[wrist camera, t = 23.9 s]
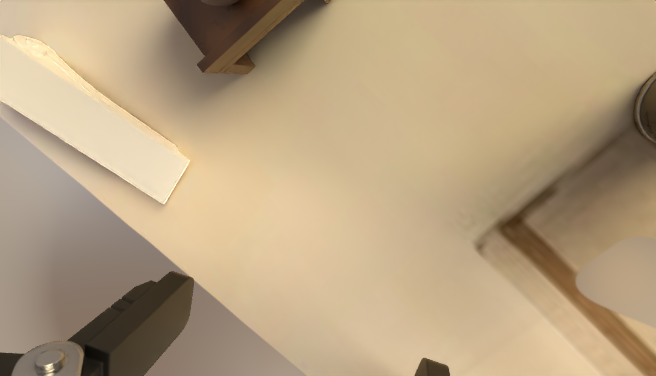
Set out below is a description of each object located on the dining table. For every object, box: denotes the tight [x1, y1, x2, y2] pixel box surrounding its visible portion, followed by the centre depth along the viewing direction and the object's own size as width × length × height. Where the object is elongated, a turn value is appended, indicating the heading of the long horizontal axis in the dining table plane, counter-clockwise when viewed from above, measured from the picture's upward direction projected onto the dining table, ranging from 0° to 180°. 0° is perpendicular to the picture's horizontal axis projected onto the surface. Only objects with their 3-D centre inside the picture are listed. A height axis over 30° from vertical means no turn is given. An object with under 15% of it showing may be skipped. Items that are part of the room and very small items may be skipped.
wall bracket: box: [0, 35, 190, 204], centre depth 51 cm, size 10×7×28 cm
